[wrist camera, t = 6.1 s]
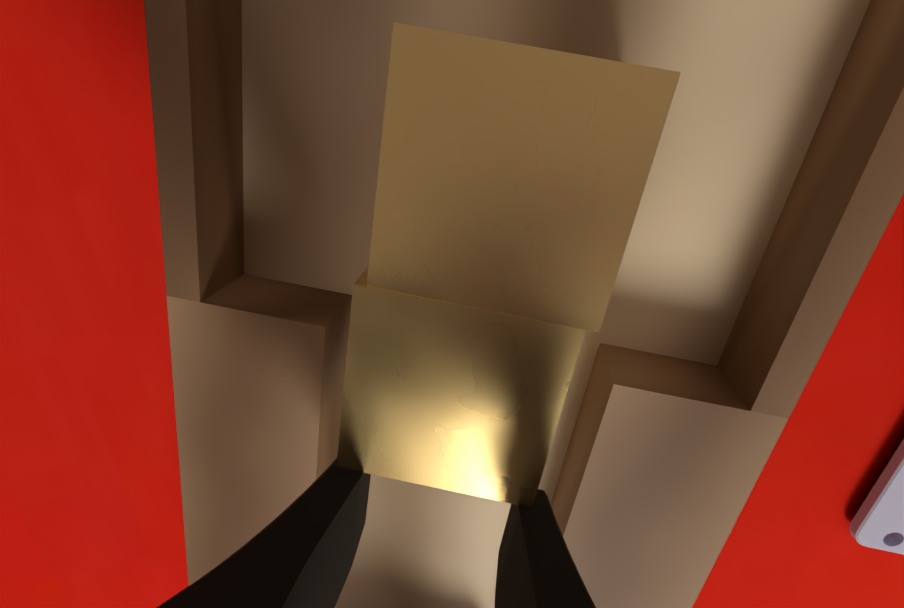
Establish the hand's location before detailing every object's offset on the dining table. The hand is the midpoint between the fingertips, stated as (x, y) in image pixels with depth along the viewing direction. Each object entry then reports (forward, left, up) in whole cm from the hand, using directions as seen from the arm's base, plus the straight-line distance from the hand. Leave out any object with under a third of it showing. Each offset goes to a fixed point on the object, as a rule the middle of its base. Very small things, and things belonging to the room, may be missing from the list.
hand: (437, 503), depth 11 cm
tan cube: (0, -3, -3) cm, 5 cm away
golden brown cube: (0, -7, -3) cm, 8 cm away
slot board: (0, 0, -4) cm, 4 cm away
